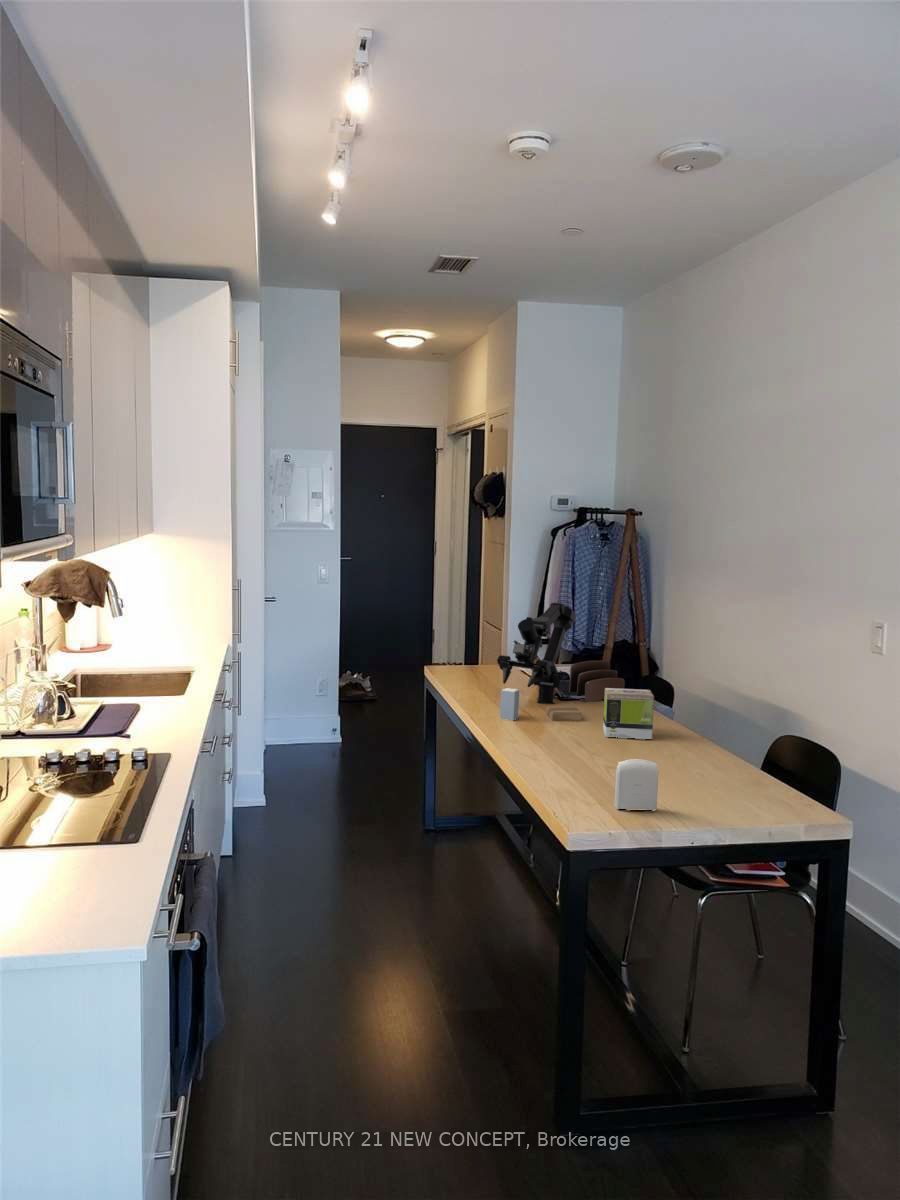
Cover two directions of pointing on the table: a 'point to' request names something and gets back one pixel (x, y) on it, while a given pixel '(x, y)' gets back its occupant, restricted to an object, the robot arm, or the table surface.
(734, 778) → the table surface
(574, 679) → the letter holder
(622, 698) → the tea box
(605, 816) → the table surface
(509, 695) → the tin
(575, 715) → the block
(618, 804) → the photo printer
